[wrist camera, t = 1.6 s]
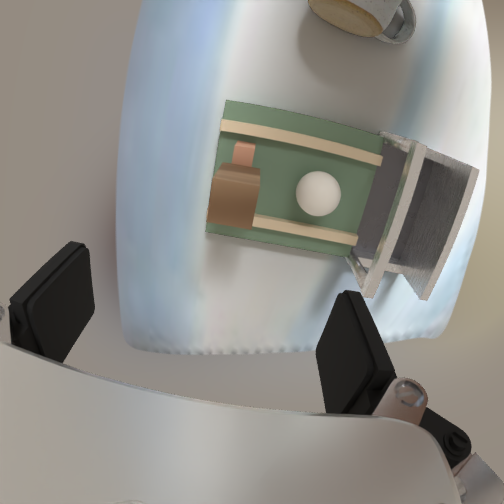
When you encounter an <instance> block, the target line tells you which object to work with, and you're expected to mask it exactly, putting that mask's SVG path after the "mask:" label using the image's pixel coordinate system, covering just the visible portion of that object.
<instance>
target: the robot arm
mask: <svg viewBox="0 0 504 504" xmlns="http://www.w3.org/2000/svg"><path fill="white" fill-rule="evenodd" d="M10 303H11V305H10V306H9V307H7V306H6V305H5V304H3V303H1V302H0V504H502V502H503V500H504V483H503V481H502V480H501V479H500V478H499V477H498V476H497V475H496V474H495V472H494V471H493V470H492V469H491V468H490V467H489V466H488V465H487V464H486V463H485V462H484V461H483V460H482V458H481V457H480V456H479V455H478V454H477V453H476V452H475V453H474V454H473V455H472V454H471V453H470V452H471V441H470V439H469V437H468V436H467V434H466V433H465V432H464V431H463V430H461V429H460V428H458V427H457V426H455V425H454V424H452V423H451V422H449V421H447V420H446V419H444V418H443V417H441V416H440V415H438V414H436V413H435V412H433V411H432V410H430V409H429V408H427V407H426V406H427V402H428V396H427V393H426V391H425V389H424V388H423V387H422V386H421V385H420V384H419V383H418V382H416V381H415V380H413V379H410V378H405V377H400V378H397V376H396V373H395V369H394V367H393V365H392V362H391V360H390V357H389V355H388V353H387V350H386V348H385V346H384V343H383V341H382V339H381V336H380V334H379V332H378V330H377V327H376V325H375V323H374V321H373V319H372V316H371V314H370V312H369V310H368V308H367V305H366V303H365V301H364V299H363V297H362V295H361V293H360V292H356V291H349V290H345V291H344V292H343V293H339V294H338V296H337V298H336V301H335V303H334V306H333V308H332V311H331V313H330V316H329V318H328V321H327V323H326V326H325V328H324V330H323V333H322V335H321V338H320V340H319V342H318V345H317V347H316V359H317V364H318V370H319V375H320V381H321V386H322V392H323V397H324V403H325V409H326V413H313V412H299V411H286V410H274V409H263V408H255V407H247V406H239V405H232V404H225V403H219V402H212V401H206V400H201V399H195V398H189V397H185V396H179V395H175V394H170V393H165V392H161V391H156V390H152V389H148V388H144V387H140V386H136V385H131V384H128V383H124V382H121V381H117V380H113V379H110V378H106V377H103V376H99V375H96V374H93V373H90V372H87V371H83V370H80V369H77V368H74V367H71V366H68V365H66V364H63V361H64V360H65V358H66V357H67V355H68V353H69V352H70V350H71V348H72V347H73V345H74V344H75V342H76V340H77V339H78V337H79V336H80V334H81V332H82V331H83V329H84V328H85V326H86V325H87V323H88V322H89V320H90V319H91V317H92V315H93V313H94V310H95V304H94V296H93V287H92V278H91V269H90V255H89V250H88V248H86V246H85V244H83V243H78V242H73V241H70V242H69V243H68V244H66V245H65V247H63V248H62V249H61V250H60V251H59V252H58V253H56V254H55V255H54V256H53V257H52V258H51V259H50V260H49V261H48V262H47V263H46V264H44V265H43V266H42V267H41V268H40V269H39V270H38V271H37V272H36V273H35V274H34V275H33V276H32V277H31V278H30V279H29V280H28V281H27V282H26V283H25V284H24V285H23V286H22V287H21V288H20V289H19V290H18V291H17V292H16V293H15V294H14V295H13V296H12V297H11V298H10Z"/></svg>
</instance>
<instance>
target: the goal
mask: <svg viewBox="0 0 504 504" xmlns="http://www.w3.org/2000/svg"><path fill="white" fill-rule="evenodd" d="M379 136H382V137H384V142H383V146H382V150H381V154H380V155H381V156H383V159H382V162H381V166H377V168H376V172H375V175H374V179H373V182H372V186H371V189H370V192H369V196H368V199H367V202H366V205H365V209H364V212H363V215H362V218H361V221H360V224H359V227H358V230H357V233H356V234H357V236H358V240H357V243H356V246H353V245H352V248H351V251H350V254H349V256H348V257H345V259H346V261H347V263H348V264H349V265H350V267H351V269H352V271H353V274H354V276H355V278H356V280H357V282H358V284H359V286H360V288H361V293H362V295H363V297H366V298H373V297H374V295H375V293H376V290H377V288H378V286H379V284H380V281H381V279H382V277H383V274H384V272H385V271H389V272H394V273H399V274H403V276H404V277H405V278H406V280H407V281H408V283H409V284H410V286H411V287H412V289H413V290H414V292H415V293H416V295H417V296H418V298H419V299H420V300H426V301H427V300H428V298H429V296H430V294H431V292H432V290H433V288H434V286H435V284H436V282H437V280H438V278H439V276H440V273H441V271H442V269H443V267H444V265H445V263H446V260H447V258H448V256H449V253H450V251H451V249H452V246H453V244H454V242H455V239H456V237H457V234H458V232H459V229H460V227H461V224H462V221H463V219H464V216H465V213H466V210H467V208H468V205H469V202H470V199H471V196H472V193H473V190H474V187H475V184H476V180H477V177H478V174H479V170H478V169H476V168H474V167H472V166H470V165H468V164H465V163H463V162H461V161H458V160H456V159H453V158H451V157H448V156H446V155H443V154H441V153H438V152H436V151H434V150H431V149H429V148H427V146H425V145H423V144H420V143H419V142H417V141H415V140H411V139H408V138H405V137H402V136H398V135H395V134H392V133H388V132H384V131H380V133H379ZM364 267H367V268H370V269H369V271H368V274H367V272H366V271H365V269H364Z"/></svg>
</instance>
